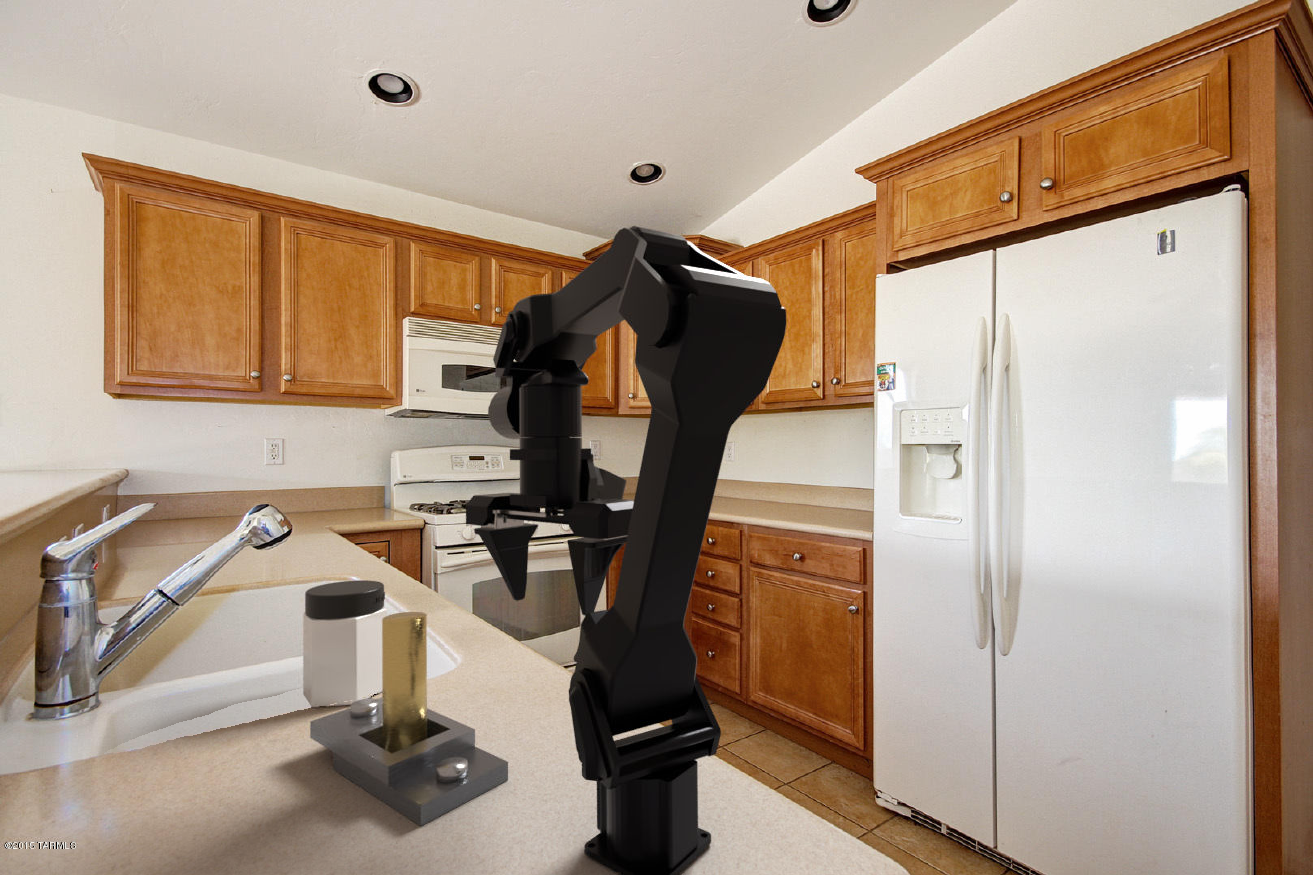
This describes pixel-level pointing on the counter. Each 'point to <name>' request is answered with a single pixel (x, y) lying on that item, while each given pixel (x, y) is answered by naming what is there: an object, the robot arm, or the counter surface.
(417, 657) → the pin
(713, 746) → the robot arm
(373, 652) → the jar
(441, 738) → the grey clamp plate
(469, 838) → the counter surface
